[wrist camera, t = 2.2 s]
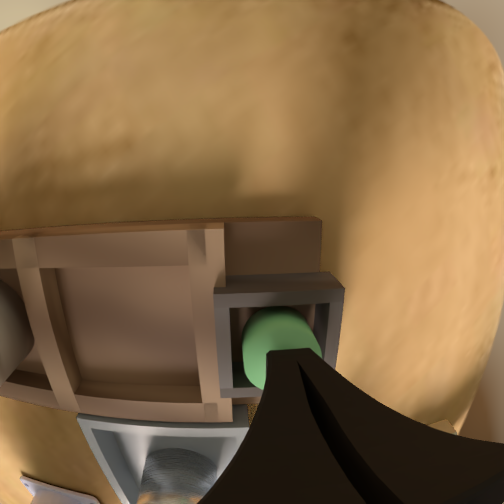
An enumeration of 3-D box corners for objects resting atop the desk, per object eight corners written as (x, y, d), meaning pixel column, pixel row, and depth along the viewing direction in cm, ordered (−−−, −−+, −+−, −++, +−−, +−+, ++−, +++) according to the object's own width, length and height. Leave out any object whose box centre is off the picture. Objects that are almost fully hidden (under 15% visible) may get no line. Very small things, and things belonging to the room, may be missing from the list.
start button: (307, 361, 12) (317, 388, 10) (242, 366, 12) (244, 395, 10) (311, 303, 12) (325, 326, 10) (240, 306, 11) (243, 331, 10)
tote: (249, 506, 18) (252, 531, 16) (141, 502, 17) (137, 526, 15) (246, 393, 15) (249, 427, 12) (91, 388, 14) (76, 417, 12)
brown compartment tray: (311, 385, 15) (353, 497, 8) (-21, 366, 13) (-77, 428, 7) (324, 216, 13) (418, 269, 6) (-57, 236, 11) (-141, 274, 5)
